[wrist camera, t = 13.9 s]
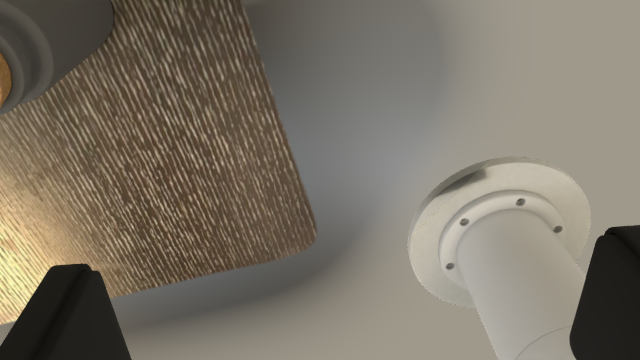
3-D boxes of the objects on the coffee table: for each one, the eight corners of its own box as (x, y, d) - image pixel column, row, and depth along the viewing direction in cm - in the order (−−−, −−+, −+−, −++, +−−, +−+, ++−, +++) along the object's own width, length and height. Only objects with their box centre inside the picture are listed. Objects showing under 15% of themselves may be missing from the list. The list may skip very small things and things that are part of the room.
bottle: (36, 47, 37) (-105, 136, 24) (20, -39, 34) (-150, 9, 21) (118, 54, 37) (25, 145, 24) (110, -31, 34) (-1, 22, 21)
